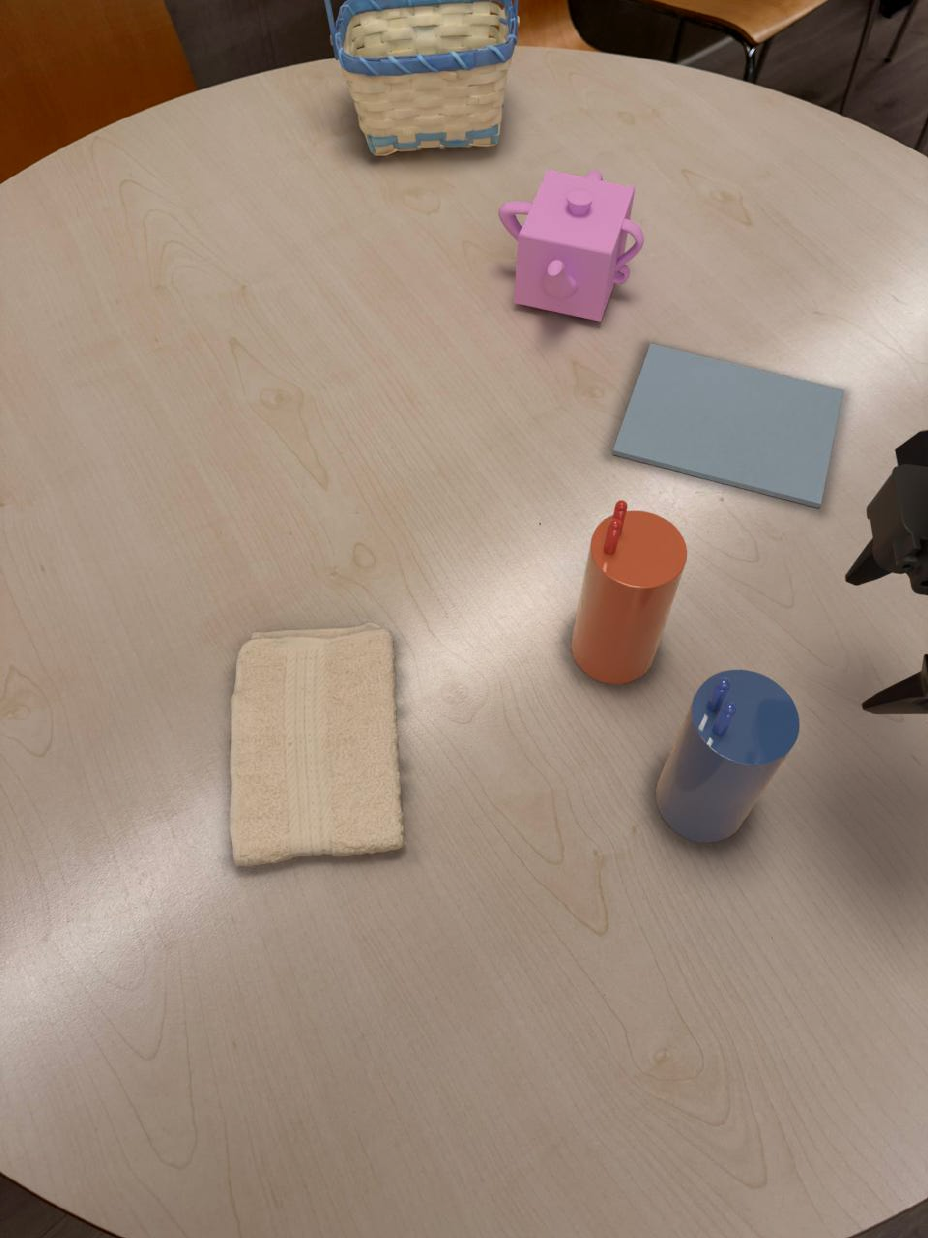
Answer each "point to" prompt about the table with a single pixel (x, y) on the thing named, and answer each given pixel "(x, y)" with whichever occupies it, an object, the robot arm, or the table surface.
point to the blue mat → (731, 424)
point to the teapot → (572, 243)
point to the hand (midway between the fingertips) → (858, 643)
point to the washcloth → (315, 746)
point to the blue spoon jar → (725, 754)
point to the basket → (426, 69)
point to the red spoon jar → (626, 594)
